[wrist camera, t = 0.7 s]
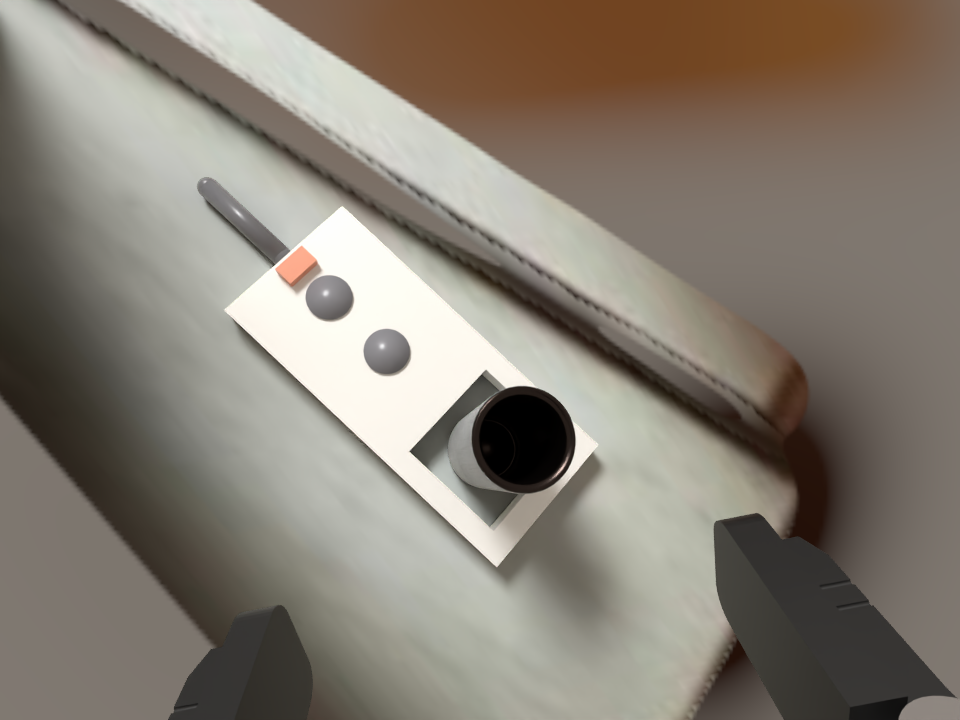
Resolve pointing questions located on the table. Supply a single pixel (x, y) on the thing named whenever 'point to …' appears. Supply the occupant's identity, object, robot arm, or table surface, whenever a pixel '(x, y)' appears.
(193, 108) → the table surface
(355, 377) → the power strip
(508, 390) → the planter
